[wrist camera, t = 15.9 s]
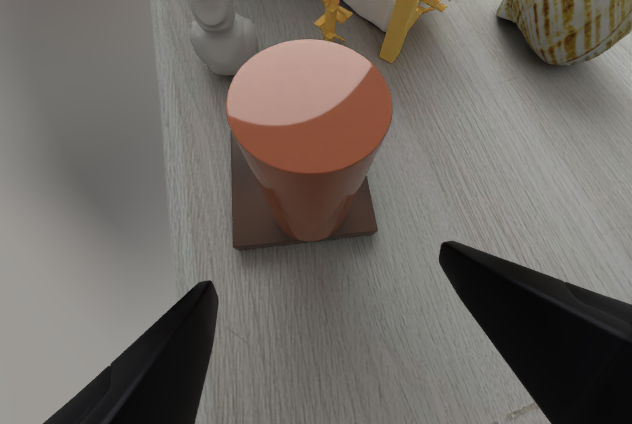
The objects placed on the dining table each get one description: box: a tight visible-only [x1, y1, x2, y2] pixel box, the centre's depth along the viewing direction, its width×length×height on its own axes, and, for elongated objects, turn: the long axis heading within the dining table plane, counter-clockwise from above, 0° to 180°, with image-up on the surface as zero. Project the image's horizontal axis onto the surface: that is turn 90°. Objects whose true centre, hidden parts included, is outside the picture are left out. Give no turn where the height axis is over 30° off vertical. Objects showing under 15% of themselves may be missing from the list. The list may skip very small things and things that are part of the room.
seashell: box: [496, 0, 632, 65], centre depth 22 cm, size 10×10×10 cm
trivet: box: [231, 131, 378, 250], centre depth 19 cm, size 10×10×1 cm
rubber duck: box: [188, 0, 258, 75], centre depth 19 cm, size 5×7×8 cm
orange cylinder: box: [226, 39, 392, 241], centre depth 13 cm, size 5×5×10 cm
